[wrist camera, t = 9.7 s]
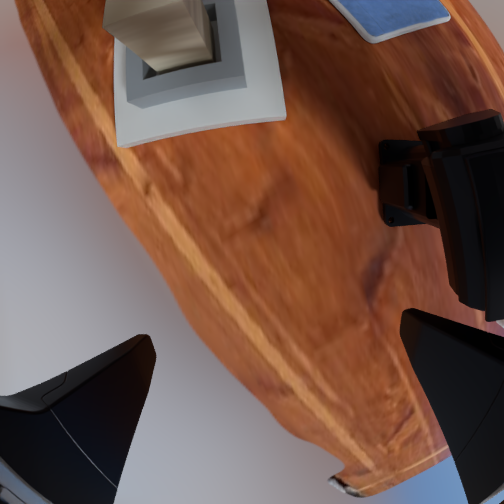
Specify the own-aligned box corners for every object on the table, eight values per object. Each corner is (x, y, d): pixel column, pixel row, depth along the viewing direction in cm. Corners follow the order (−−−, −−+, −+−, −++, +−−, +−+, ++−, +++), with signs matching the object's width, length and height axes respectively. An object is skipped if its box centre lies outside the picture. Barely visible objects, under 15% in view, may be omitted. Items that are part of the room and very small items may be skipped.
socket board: (262, -7, 15) (262, -34, 11) (284, 120, 18) (289, 107, 14) (123, 25, 16) (102, 6, 12) (126, 147, 19) (99, 144, 15)
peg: (213, 29, 15) (182, -47, 6) (217, 69, 16) (182, 0, 7) (165, 40, 15) (110, -22, 6) (166, 80, 16) (102, 27, 7)
